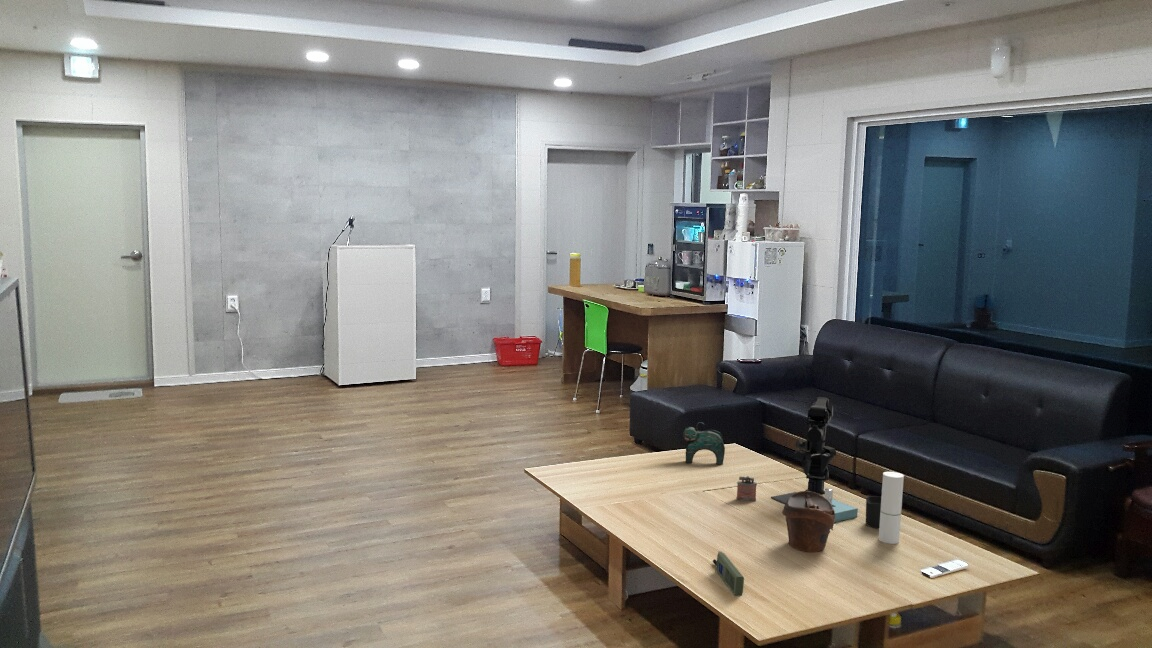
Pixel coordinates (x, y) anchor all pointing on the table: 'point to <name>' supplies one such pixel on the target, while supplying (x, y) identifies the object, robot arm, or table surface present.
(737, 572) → the handheld radio
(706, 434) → the ceramic cat
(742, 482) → the lighter
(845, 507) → the teal square hole block
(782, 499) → the rubber mat
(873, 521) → the pen holder
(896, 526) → the cylindrical container
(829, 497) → the steel pin
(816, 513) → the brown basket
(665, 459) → the table surface
